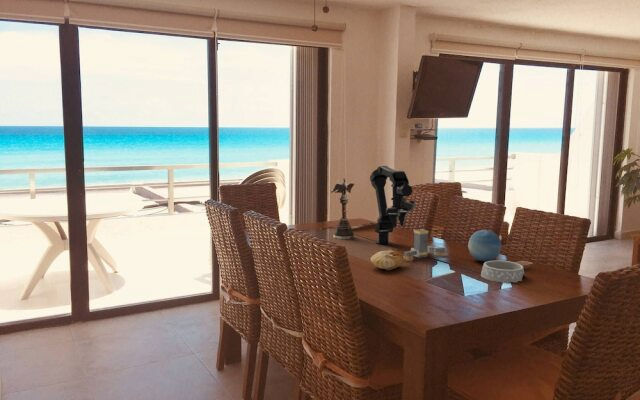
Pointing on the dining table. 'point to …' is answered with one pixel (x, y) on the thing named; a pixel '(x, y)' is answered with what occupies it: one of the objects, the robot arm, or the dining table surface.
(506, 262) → the dog bowl
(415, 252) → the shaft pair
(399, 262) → the nautilus
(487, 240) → the decorative ball
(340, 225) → the bird statue
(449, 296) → the dining table surface
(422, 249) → the block
